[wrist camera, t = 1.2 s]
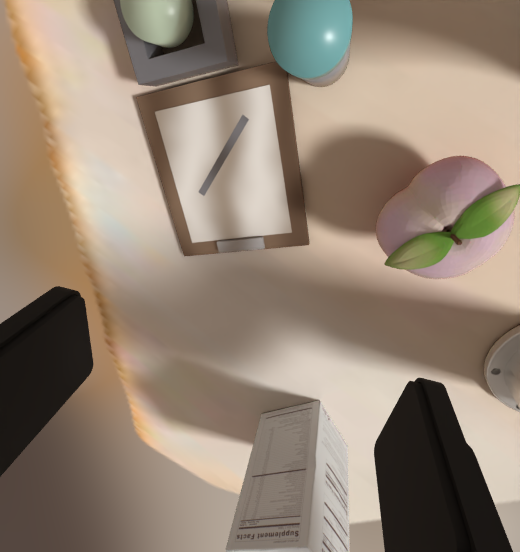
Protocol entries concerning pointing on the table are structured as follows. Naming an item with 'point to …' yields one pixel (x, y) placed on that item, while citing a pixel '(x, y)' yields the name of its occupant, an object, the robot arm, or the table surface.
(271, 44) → the marker
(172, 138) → the clipboard
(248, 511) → the supplement box
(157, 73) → the button housing
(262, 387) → the table surface
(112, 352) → the table surface
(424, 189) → the decorative fruit
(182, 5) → the button
